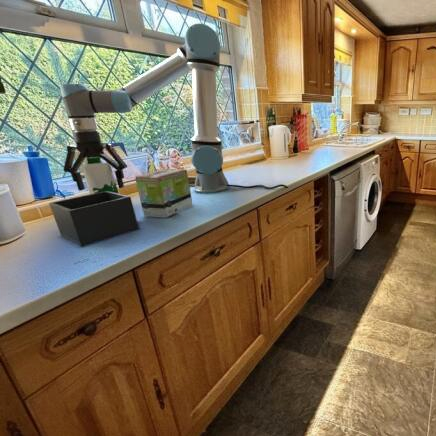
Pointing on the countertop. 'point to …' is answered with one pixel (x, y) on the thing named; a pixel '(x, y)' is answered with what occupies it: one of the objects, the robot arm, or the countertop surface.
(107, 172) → the soya milk
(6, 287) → the countertop surface
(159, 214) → the tea box
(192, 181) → the toy sandwich meal
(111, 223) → the waste bin
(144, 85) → the robot arm
